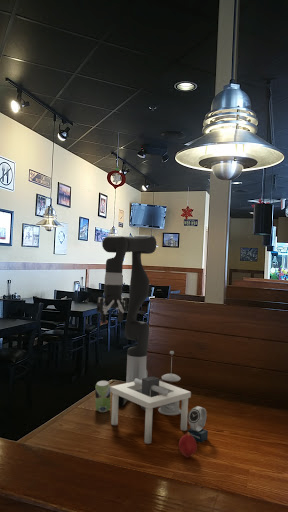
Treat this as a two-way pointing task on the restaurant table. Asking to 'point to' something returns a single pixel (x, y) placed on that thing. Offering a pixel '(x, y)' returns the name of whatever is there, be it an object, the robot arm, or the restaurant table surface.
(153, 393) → the grey u-shaped bracket
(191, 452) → the onion
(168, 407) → the french press
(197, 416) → the watch
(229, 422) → the restaurant table surface
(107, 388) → the beverage can
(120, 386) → the square frame stand
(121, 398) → the mobile phone
